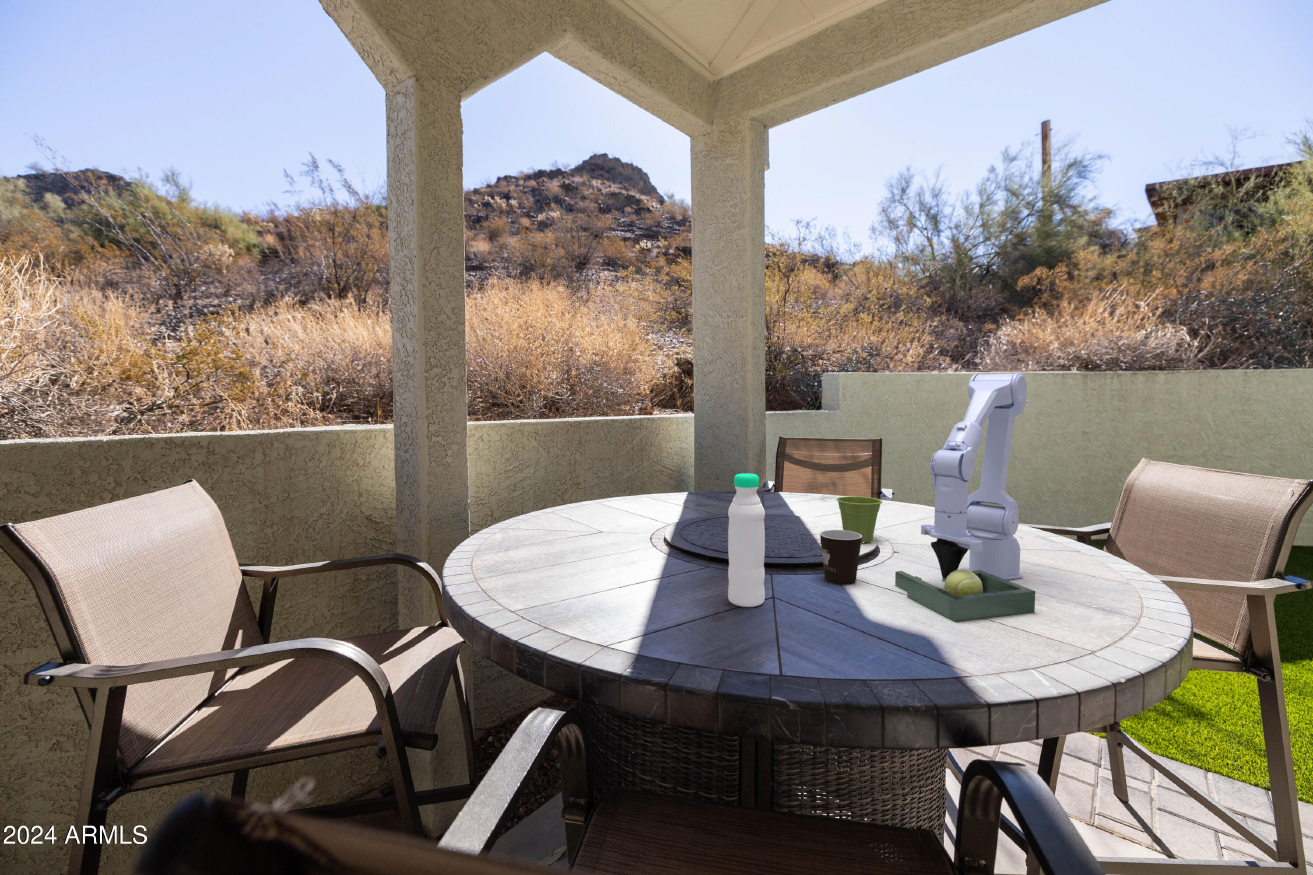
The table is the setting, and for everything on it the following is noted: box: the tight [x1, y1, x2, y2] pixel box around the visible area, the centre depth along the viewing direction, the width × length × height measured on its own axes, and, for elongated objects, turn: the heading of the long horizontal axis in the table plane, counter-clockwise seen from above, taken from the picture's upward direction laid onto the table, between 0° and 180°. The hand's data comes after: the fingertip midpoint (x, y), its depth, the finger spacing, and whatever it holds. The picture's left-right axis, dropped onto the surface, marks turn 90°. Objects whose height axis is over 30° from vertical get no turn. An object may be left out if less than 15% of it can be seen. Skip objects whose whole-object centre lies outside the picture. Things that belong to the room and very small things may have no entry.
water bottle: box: [727, 472, 766, 608], centre depth 113 cm, size 7×7×25 cm
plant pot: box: [835, 495, 883, 544], centre depth 158 cm, size 12×12×11 cm
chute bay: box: [894, 570, 1036, 623], centre depth 114 cm, size 17×20×4 cm
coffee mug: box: [819, 529, 862, 586], centre depth 127 cm, size 12×9×10 cm
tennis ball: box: [944, 568, 983, 596], centre depth 112 cm, size 6×7×7 cm
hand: (948, 578), depth 116 cm, fingers closed
